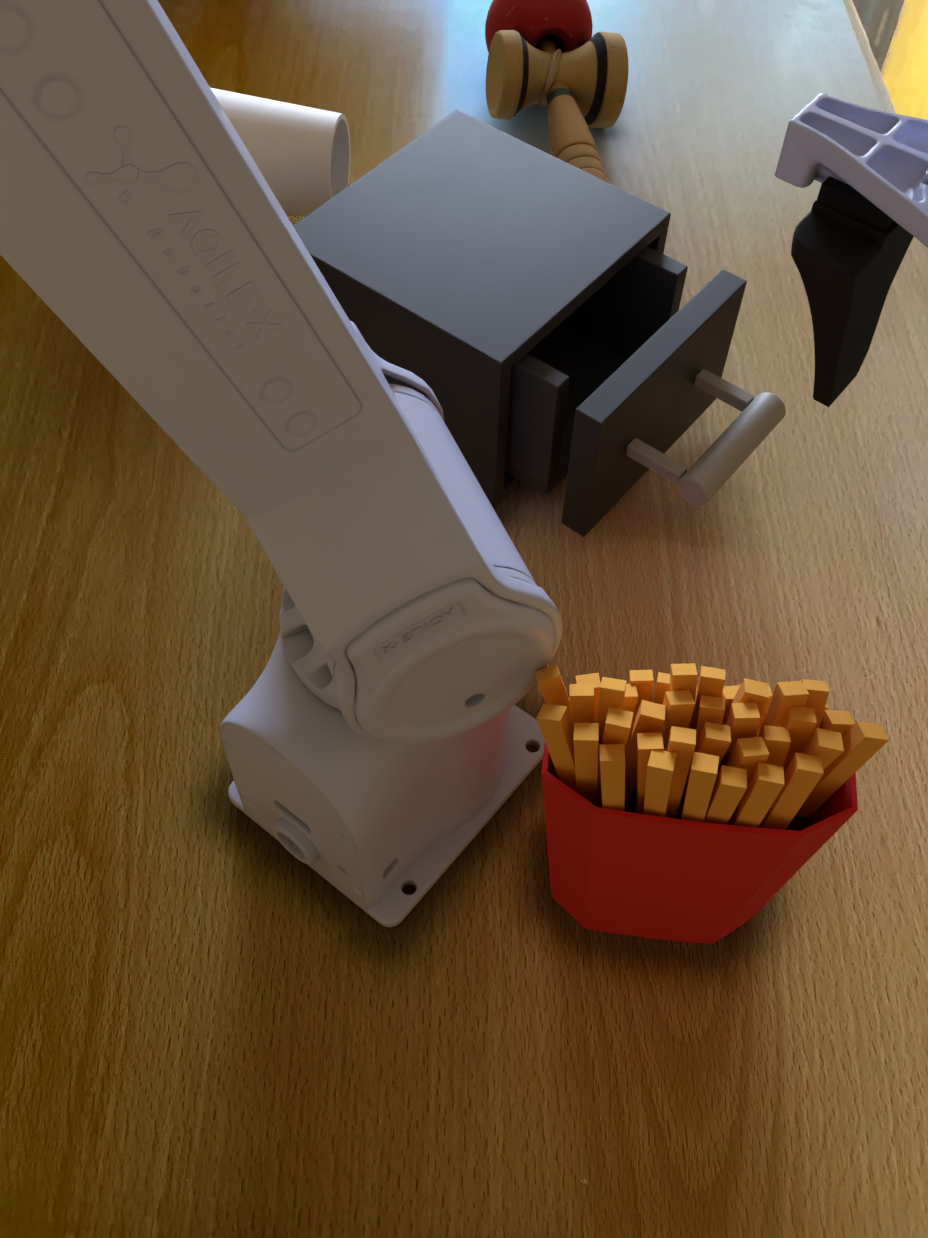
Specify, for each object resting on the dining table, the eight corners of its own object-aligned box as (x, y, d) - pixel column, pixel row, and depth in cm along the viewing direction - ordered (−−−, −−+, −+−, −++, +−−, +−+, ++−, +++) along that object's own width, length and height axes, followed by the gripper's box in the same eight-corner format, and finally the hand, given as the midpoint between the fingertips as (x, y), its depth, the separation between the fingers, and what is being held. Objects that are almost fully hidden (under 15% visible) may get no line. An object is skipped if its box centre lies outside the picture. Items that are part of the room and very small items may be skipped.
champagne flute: (-183, 94, 55) (319, 143, 53) (-122, 19, 59) (349, 62, 57) (-126, 217, 60) (331, 265, 59) (-73, 141, 64) (358, 184, 62)
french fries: (774, 839, 42) (889, 646, 31) (777, 957, 39) (902, 795, 29) (517, 808, 42) (541, 608, 31) (505, 924, 40) (526, 751, 29)
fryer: (643, 364, 55) (671, 212, 48) (493, 509, 50) (501, 363, 43) (455, 262, 59) (456, 108, 52) (299, 387, 54) (277, 235, 47)
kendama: (673, 254, 62) (600, 24, 69) (675, 163, 56) (595, -78, 64) (528, 288, 62) (472, 55, 70) (516, 200, 56) (455, -42, 64)
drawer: (792, 440, 51) (833, 322, 46) (663, 587, 47) (692, 476, 41) (531, 299, 56) (540, 177, 51) (392, 419, 52) (385, 300, 46)
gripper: (1466, 87, 28) (1175, 466, 39) (915, -103, 33) (796, 282, 44) (1383, 233, 25) (1093, 600, 36) (788, -1, 30) (695, 385, 41)
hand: (923, 433), depth 40 cm, fingers open, 6 cm apart
